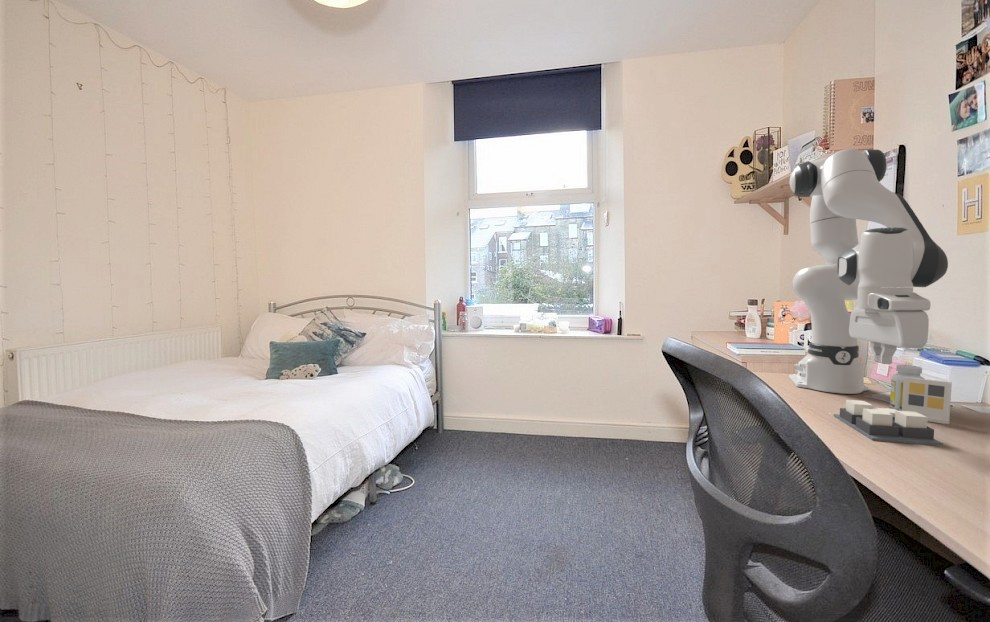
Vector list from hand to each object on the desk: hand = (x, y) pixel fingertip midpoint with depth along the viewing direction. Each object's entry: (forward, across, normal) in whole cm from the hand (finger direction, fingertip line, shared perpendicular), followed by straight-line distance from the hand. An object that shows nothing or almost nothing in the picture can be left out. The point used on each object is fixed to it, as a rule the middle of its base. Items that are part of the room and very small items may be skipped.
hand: (882, 363), depth 89 cm
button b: (+14, 0, +5) cm, 15 cm away
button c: (+14, -7, -1) cm, 16 cm away
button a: (+15, -7, +5) cm, 18 cm away
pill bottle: (+16, -22, +17) cm, 32 cm away
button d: (+14, 0, -1) cm, 14 cm away
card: (+16, -14, +16) cm, 26 cm away
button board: (+16, -4, +2) cm, 17 cm away
